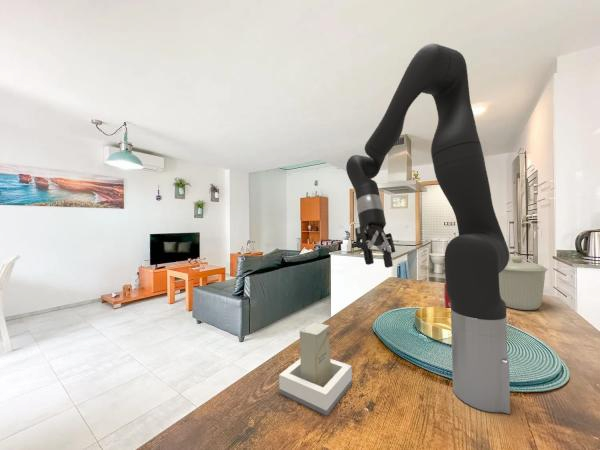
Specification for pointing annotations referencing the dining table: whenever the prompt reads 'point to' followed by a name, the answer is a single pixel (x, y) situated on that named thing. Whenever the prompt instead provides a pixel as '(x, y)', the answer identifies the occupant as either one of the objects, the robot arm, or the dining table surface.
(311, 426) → the dining table surface
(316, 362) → the skincare box
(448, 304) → the soda can
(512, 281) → the canister
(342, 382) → the socket block
